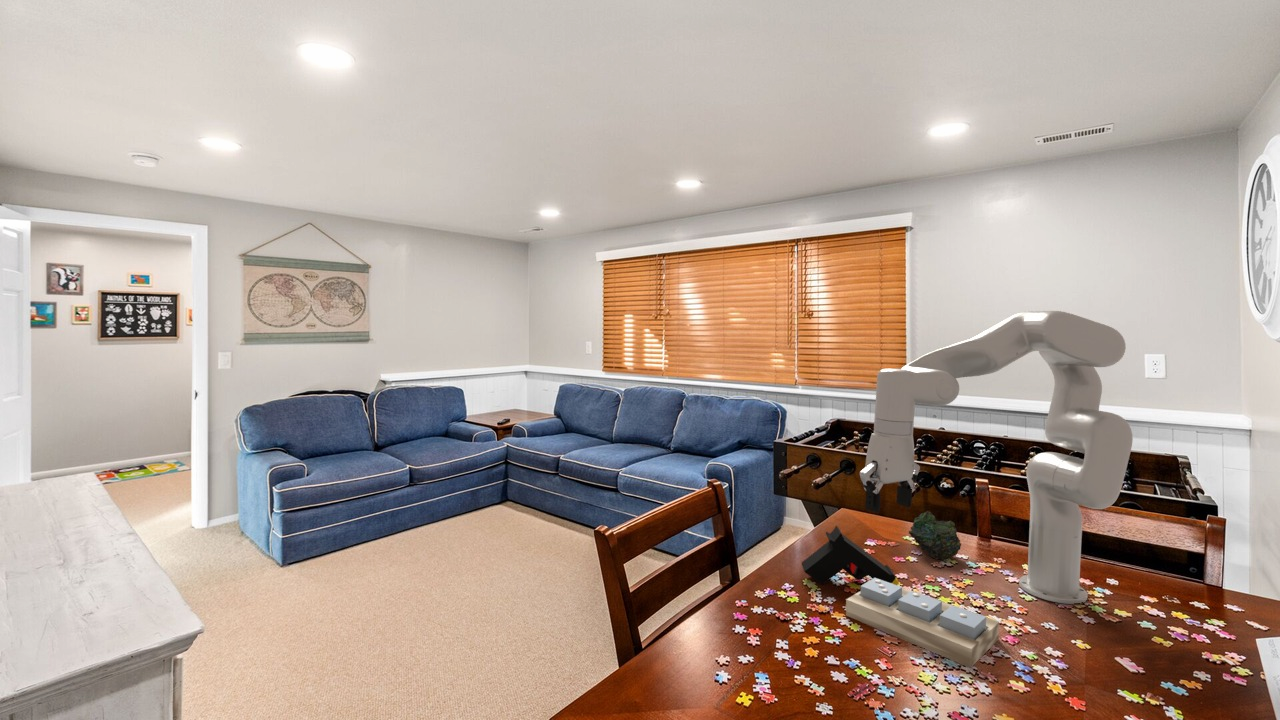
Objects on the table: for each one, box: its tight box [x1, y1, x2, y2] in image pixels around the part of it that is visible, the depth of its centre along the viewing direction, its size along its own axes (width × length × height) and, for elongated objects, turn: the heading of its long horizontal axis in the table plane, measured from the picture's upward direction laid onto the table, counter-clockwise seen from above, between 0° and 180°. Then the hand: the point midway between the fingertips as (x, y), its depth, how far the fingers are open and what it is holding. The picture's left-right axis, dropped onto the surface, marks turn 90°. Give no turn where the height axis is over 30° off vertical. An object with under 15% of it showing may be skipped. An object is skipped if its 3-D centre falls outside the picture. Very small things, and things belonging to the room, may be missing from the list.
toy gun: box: [801, 525, 899, 586], centre depth 135 cm, size 5×18×12 cm
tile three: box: [860, 578, 903, 607], centre depth 121 cm, size 6×6×3 cm
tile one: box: [940, 604, 987, 640], centre depth 109 cm, size 6×6×3 cm
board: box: [845, 587, 1000, 669], centre depth 115 cm, size 14×24×4 cm, turn 40°
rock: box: [908, 510, 962, 561], centre depth 152 cm, size 14×11×10 cm
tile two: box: [898, 590, 943, 623], centre depth 115 cm, size 6×6×3 cm
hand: (888, 508), depth 121 cm, fingers open, 9 cm apart
